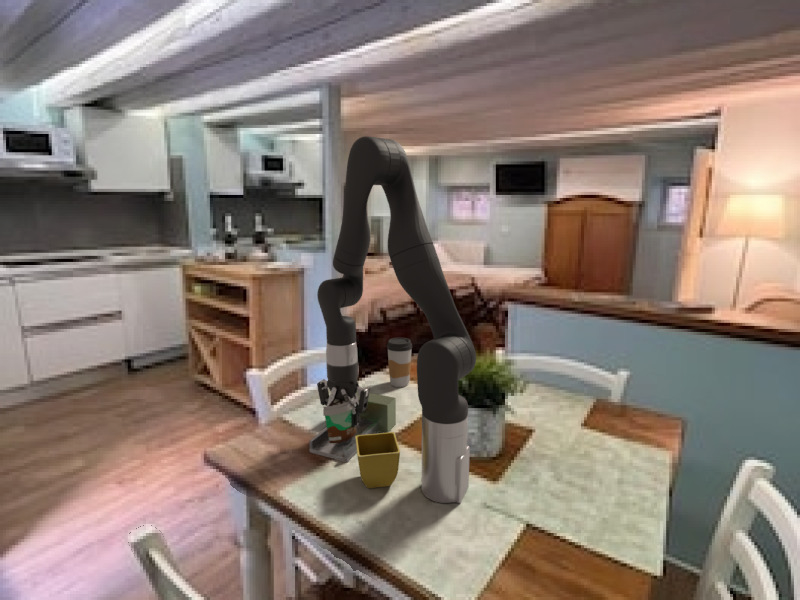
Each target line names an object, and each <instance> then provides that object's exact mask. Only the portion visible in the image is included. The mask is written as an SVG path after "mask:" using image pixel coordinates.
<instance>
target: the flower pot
mask: <svg viewBox="0 0 800 600" xmlns="http://www.w3.org/2000/svg"><path fill="white" fill-rule="evenodd" d="M355 439H356V447H357V453H356V454H357V456H356V457H357V461H358V469H359V475H360V478H361V481H362V482H363V484H364V485H365V487H366V488H367V489H374V488H383V487H390V486H392V485H393V483H394V482H395V480H396V478H397V476H398V472H399V466H400V459H401V458H400V457H401V456H400V455H401V449H400V447H399V444H398V440H397V436H396V433H395V432H394V431H390V432H388V433H383V432H380V433H379V432H378V433H377V434H367V435H358V436H355Z"/></svg>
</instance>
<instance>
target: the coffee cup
mask: <svg viewBox="0 0 800 600" xmlns="http://www.w3.org/2000/svg"><path fill="white" fill-rule="evenodd" d="M386 349H387V357H388V361H387V364H388V371H389V373H388V374H389V383H390V384H391V386H393V387H395V388H405V387H407V386H408V385H409V384H410V378H411V377H410V375H411V367H412V365H411V364H412V349H413V343H412V342H411V339H410V338H406V337H393V338H390V339H389V340H388V341H387V345H386Z"/></svg>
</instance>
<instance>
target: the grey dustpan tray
mask: <svg viewBox="0 0 800 600" xmlns="http://www.w3.org/2000/svg"><path fill="white" fill-rule="evenodd" d="M356 394H357V397H358V402H359V399H360V397H359V396H358V395H359V393H358V392H356ZM396 399H397V398H396V397H394V396H388V395H383V394H377V393H372V392H369V398H368V405H367V409H366V410H364V411H363V412H362V413H360V423H359V424H358V425H357V426H356V435H355V436H358V435H367V434H376V433H377V434H379V432H380V433H383V432H384V433H388V432H392V430H393V429H394V428H395V427H394V426H395V425H396V426H397V424H396V423H397V414H396V413H397V412H396V411H397V407H396V406H397V405H396ZM393 427H394V428H393ZM392 428H393V429H392ZM391 429H392V430H391ZM355 436H354V437H353V438H351V439H349V440H347V441H344V442H341V443H330V442H329V437H328V431H327V426H326V427H325V428H323V429H322V430H320V432H318V434H316V435H315V436H313V437H312V438H311V439H310V440H308V443H309V453H311V454H314V455H319V456H322V457H325V458H326V457H327V458H329V457H330V459H333V458H334V460H338V461H341V462H345V463H348V462H349V461H351V459H353V458H354V457H355V456H356V454H357V447H356V439H355Z"/></svg>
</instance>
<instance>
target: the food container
mask: <svg viewBox="0 0 800 600" xmlns="http://www.w3.org/2000/svg"><path fill="white" fill-rule="evenodd" d="M354 399H355V396H354V397H353V398H351V401H353V400H354ZM356 405H357V404H356V403H354V406H356ZM322 406H323V410H322V412H323V414H322V415H323V416H324V419H325V425H326V427H327V431H328V437H329V442H330V443H341V442H344V441H347V440H349V439H351V438H353V437H354V436H355V435H356V427H355V428H354V427H352V416H351V414H352V412H351V409H353V406H352V405H351V404H350V403H349V401H348V402H346V401H344V400H342V399H335V400H333V401H331V403H330V404H329V406H325V405H322Z"/></svg>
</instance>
